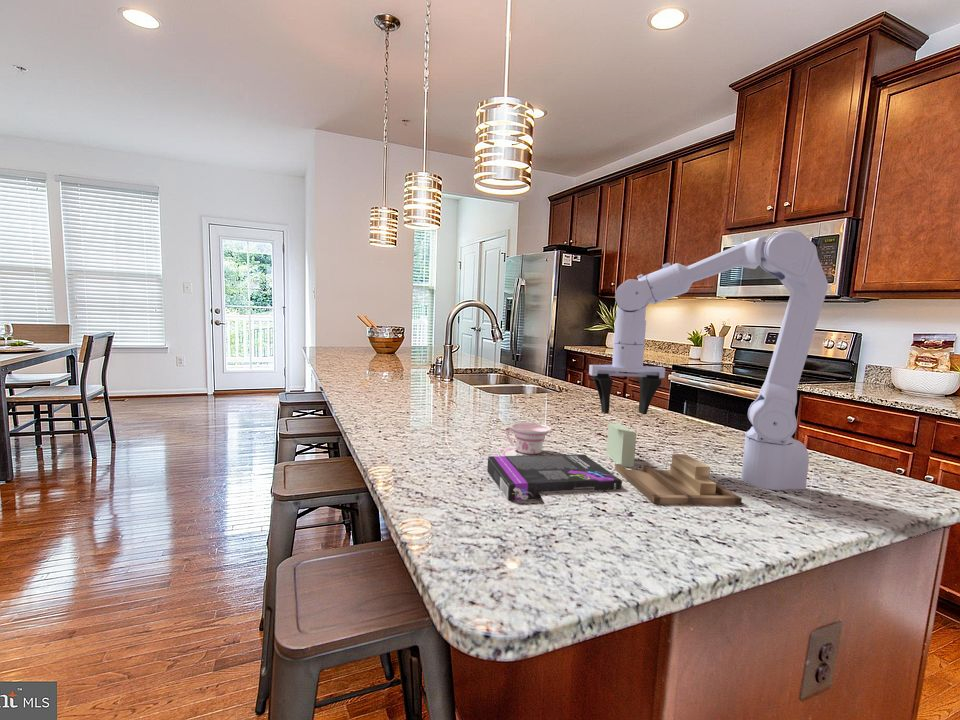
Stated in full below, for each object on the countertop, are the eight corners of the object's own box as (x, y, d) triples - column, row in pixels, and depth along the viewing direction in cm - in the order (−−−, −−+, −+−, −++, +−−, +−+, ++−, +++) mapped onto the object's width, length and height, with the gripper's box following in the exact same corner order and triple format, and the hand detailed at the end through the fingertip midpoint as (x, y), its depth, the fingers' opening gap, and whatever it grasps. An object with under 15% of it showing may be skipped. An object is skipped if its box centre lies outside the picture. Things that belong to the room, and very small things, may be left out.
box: (507, 506, 74) (622, 498, 78) (507, 484, 73) (623, 477, 77) (486, 474, 87) (585, 469, 91) (487, 456, 87) (586, 451, 91)
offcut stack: (684, 474, 86) (686, 453, 86) (716, 495, 77) (718, 471, 76) (668, 474, 86) (670, 453, 86) (698, 495, 76) (700, 471, 76)
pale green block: (617, 456, 98) (620, 423, 97) (633, 469, 90) (636, 433, 89) (606, 456, 98) (608, 423, 97) (620, 469, 90) (623, 433, 89)
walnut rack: (686, 475, 89) (687, 465, 89) (740, 510, 73) (741, 498, 73) (614, 474, 88) (615, 464, 88) (653, 510, 72) (654, 497, 72)
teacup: (559, 451, 102) (561, 423, 101) (555, 469, 90) (557, 437, 90) (504, 446, 105) (505, 418, 104) (493, 462, 93) (495, 431, 92)
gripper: (655, 343, 97) (650, 409, 98) (586, 341, 95) (581, 408, 97) (672, 346, 90) (666, 417, 91) (597, 343, 88) (593, 415, 90)
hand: (623, 413), depth 93 cm, fingers open, 7 cm apart
